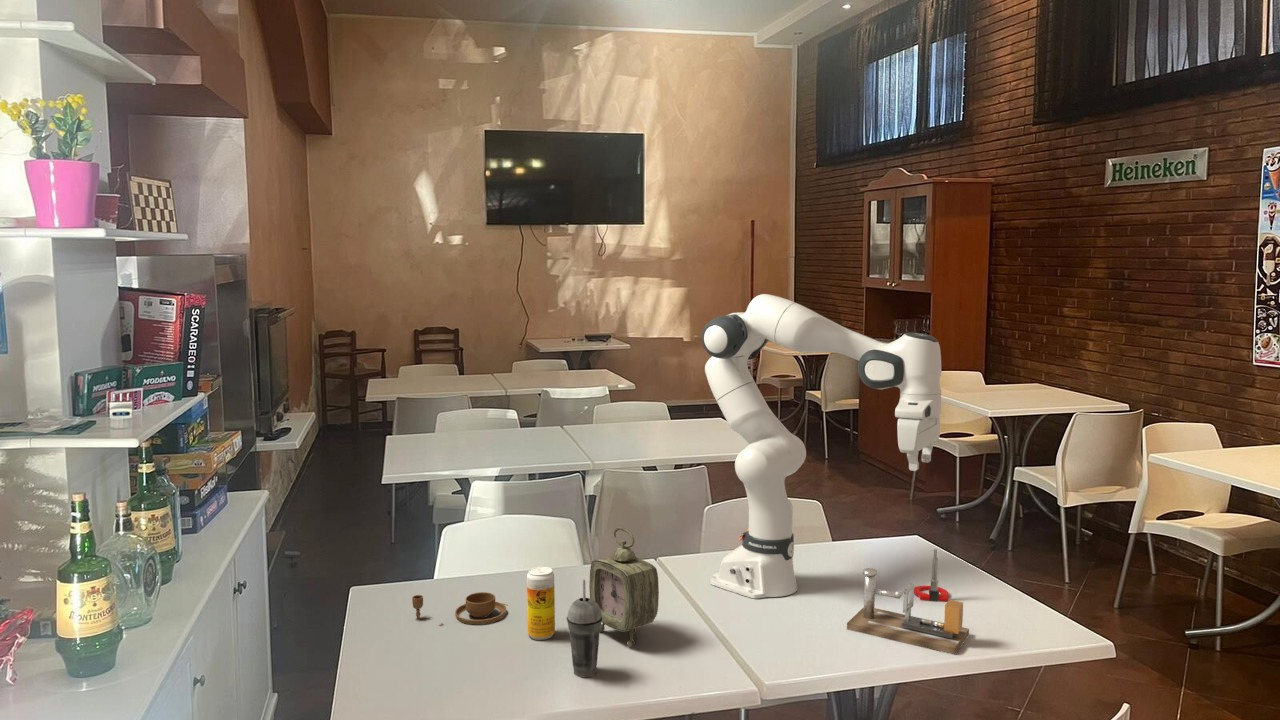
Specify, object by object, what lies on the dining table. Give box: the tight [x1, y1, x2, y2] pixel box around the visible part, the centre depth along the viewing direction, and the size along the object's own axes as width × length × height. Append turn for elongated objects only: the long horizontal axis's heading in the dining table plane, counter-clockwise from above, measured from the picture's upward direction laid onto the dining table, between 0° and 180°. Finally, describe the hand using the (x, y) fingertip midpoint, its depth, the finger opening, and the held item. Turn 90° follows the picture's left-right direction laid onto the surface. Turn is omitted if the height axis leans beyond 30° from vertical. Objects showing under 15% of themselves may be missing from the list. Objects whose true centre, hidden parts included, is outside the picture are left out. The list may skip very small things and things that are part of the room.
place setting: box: [411, 591, 509, 627], centre depth 214 cm, size 18×20×6 cm
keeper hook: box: [862, 567, 903, 619], centre depth 206 cm, size 9×3×11 cm, turn 56°
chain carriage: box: [902, 582, 964, 639], centre depth 200 cm, size 12×5×9 cm, turn 57°
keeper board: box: [846, 606, 970, 655], centre depth 203 cm, size 24×12×2 cm, turn 57°
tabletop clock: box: [589, 526, 660, 648], centre depth 200 cm, size 14×9×25 cm, turn 40°
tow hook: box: [914, 548, 949, 602], centre depth 226 cm, size 8×13×9 cm
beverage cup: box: [566, 579, 602, 678], centre depth 183 cm, size 7×7×20 cm
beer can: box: [526, 566, 556, 641], centre depth 201 cm, size 6×6×15 cm
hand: (920, 466), depth 203 cm, fingers open, 8 cm apart
